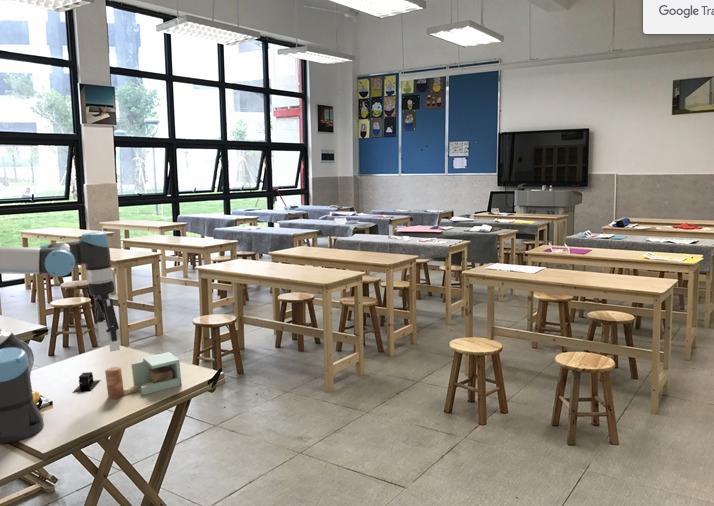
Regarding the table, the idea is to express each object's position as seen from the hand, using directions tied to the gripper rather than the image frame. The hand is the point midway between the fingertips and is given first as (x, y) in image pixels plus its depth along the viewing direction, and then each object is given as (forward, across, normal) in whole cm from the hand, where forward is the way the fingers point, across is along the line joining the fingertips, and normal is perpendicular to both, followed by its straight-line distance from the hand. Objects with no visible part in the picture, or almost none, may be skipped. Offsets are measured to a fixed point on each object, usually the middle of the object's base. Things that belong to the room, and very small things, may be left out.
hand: (109, 345), depth 193 cm
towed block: (+17, 0, -8) cm, 19 cm away
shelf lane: (+17, 0, -13) cm, 22 cm away
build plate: (+18, +16, +6) cm, 24 cm away
